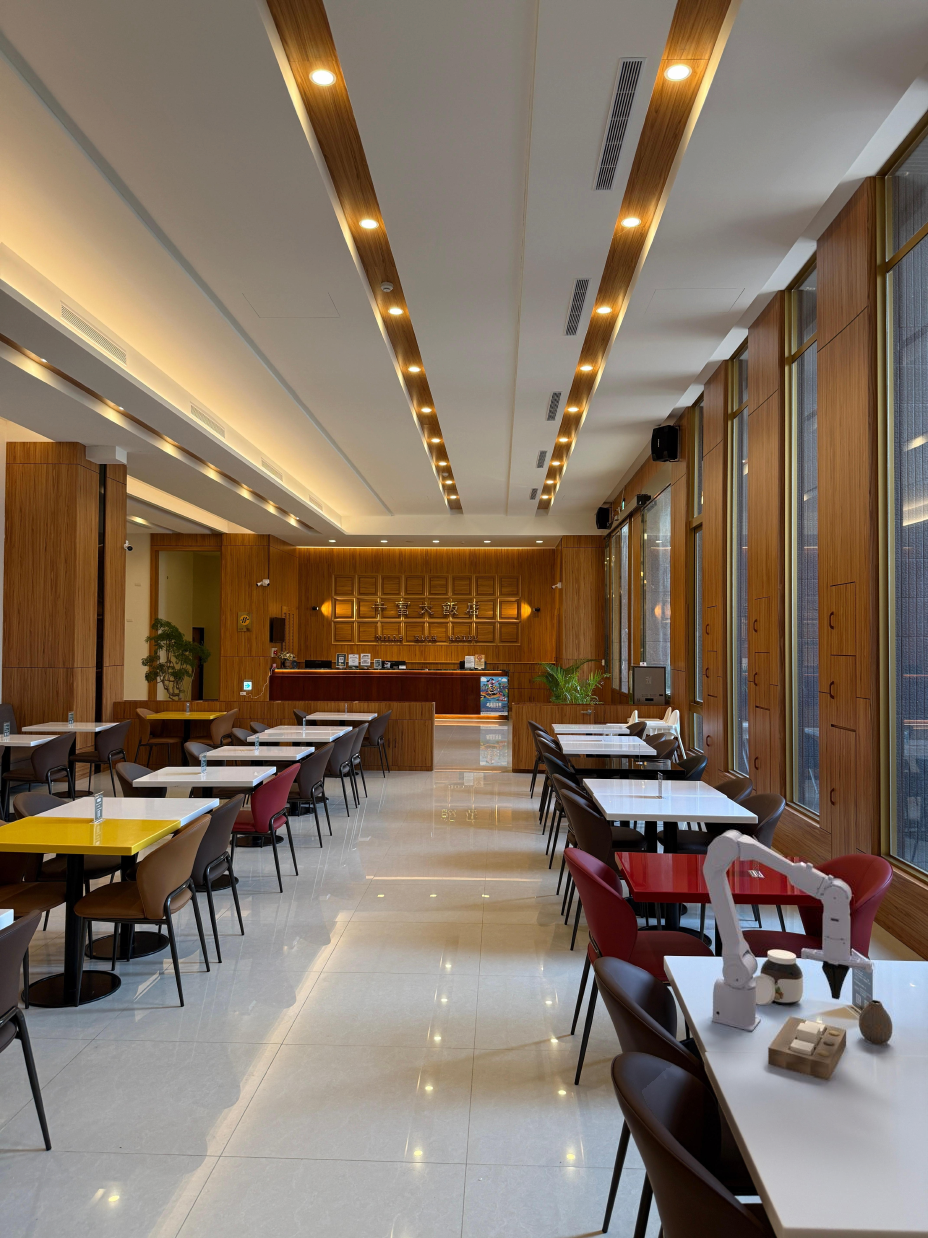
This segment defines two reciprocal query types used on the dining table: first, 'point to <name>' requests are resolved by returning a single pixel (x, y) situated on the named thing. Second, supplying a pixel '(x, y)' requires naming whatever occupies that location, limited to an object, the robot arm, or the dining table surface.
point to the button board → (805, 1064)
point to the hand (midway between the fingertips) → (835, 997)
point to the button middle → (808, 1033)
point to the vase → (875, 1023)
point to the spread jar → (779, 980)
